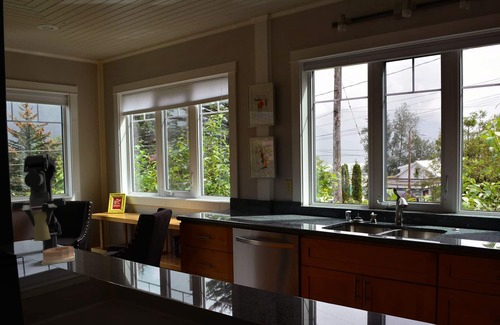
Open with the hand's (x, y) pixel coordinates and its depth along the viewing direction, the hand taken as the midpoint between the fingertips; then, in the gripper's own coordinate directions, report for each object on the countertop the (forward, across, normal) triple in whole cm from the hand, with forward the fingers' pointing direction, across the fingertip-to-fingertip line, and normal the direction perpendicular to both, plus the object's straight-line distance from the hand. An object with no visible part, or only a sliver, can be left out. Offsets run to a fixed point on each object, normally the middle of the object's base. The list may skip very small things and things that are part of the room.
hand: (41, 225), depth 169 cm
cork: (+6, 0, 0) cm, 6 cm away
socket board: (+13, +6, -8) cm, 17 cm away
